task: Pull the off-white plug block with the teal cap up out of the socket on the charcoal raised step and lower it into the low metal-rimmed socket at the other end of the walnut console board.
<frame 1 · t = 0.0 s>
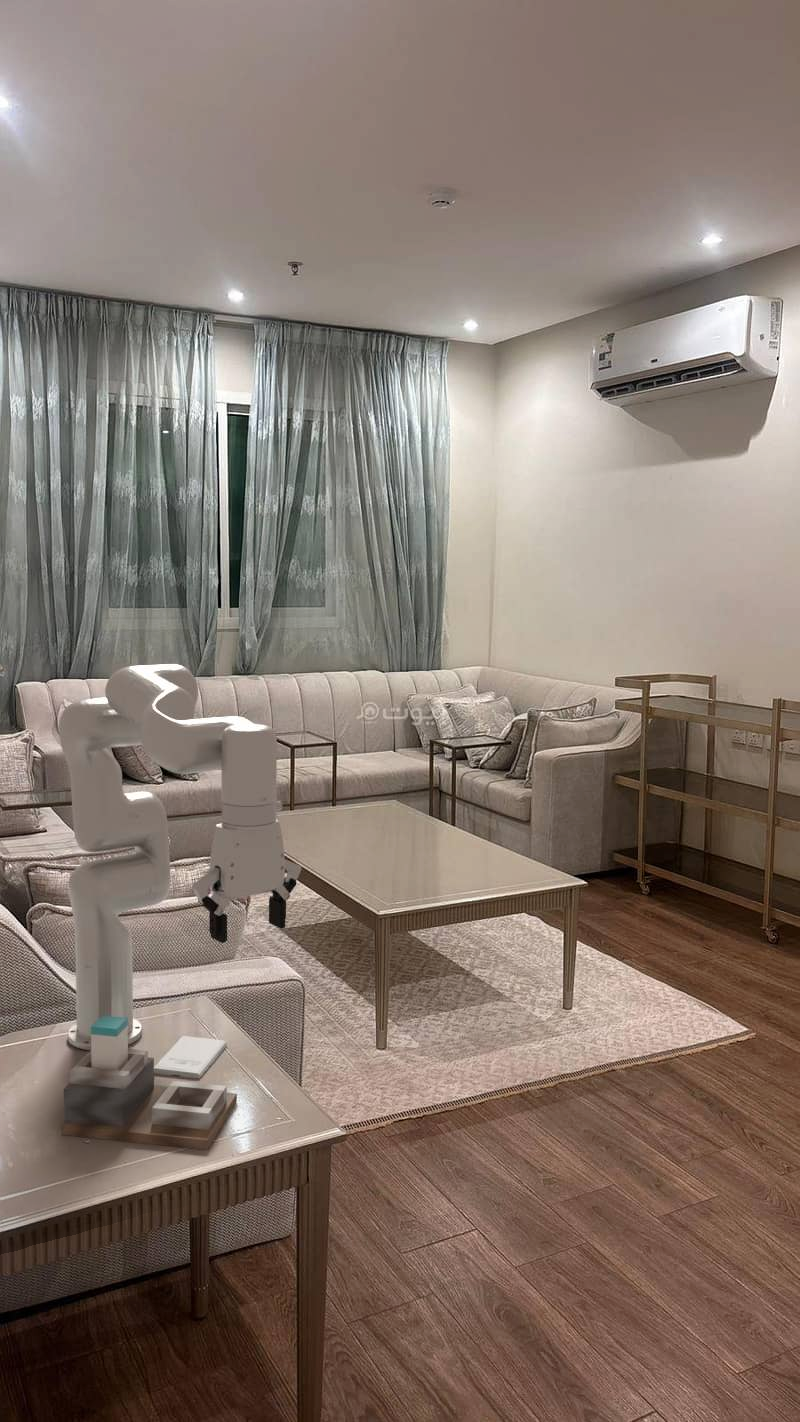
hand: (248, 932, 152), 31 cm above the table, tool pointing down, fingers open, 9 cm apart
plug block: (110, 1073, 162), point 6 cm above the table, touching socket console
socket console: (151, 1118, 162), on the table
external hard drive: (190, 1063, 182), on the table
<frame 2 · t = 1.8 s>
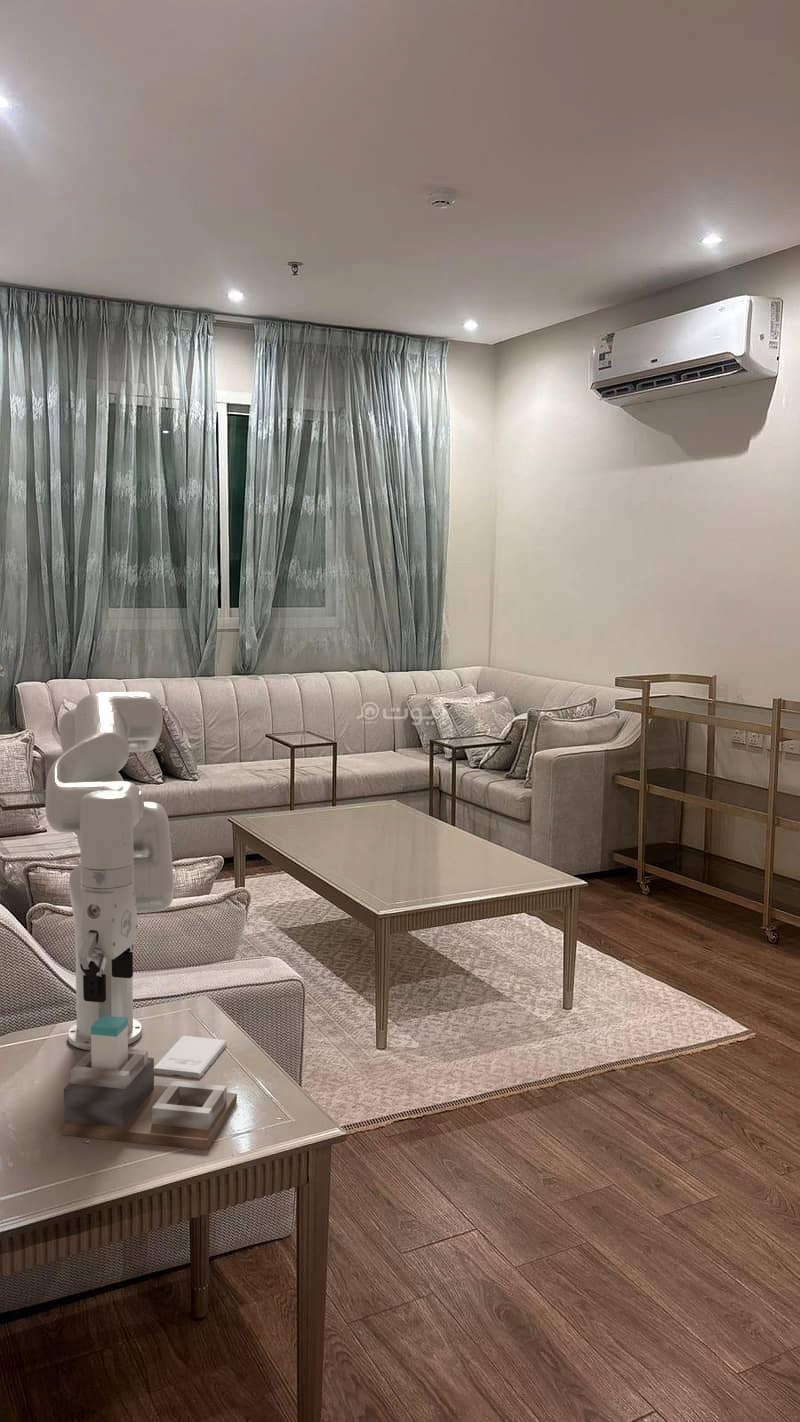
hand: (109, 988, 160), 20 cm above the table, tool pointing down, fingers open, 9 cm apart
nothing on the table moved.
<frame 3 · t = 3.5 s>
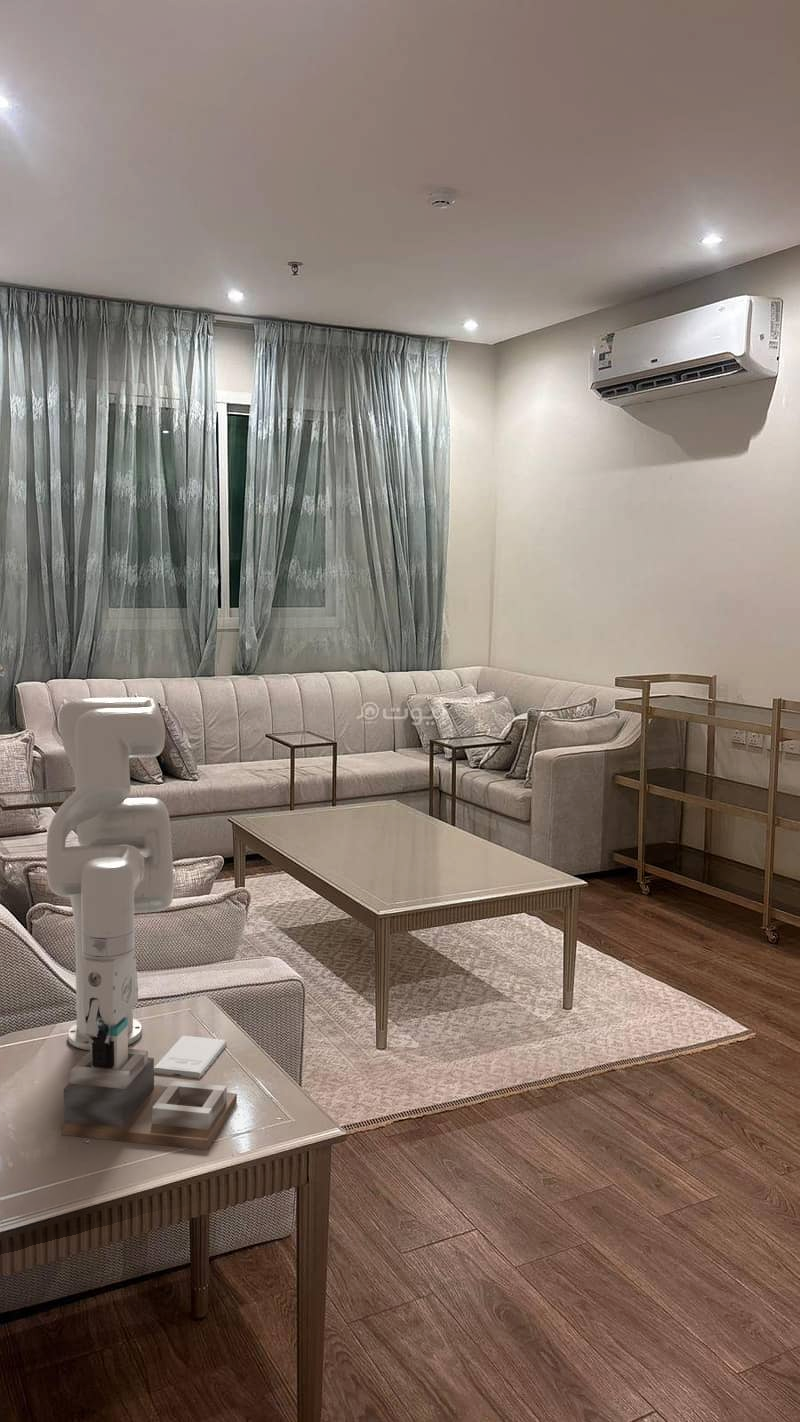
hand: (109, 1058, 162), 9 cm above the table, tool pointing down, fingers closed on plug block, 4 cm apart
plug block: (110, 1073, 162), point 7 cm above the table, touching gripper, socket console
everything else where it was.
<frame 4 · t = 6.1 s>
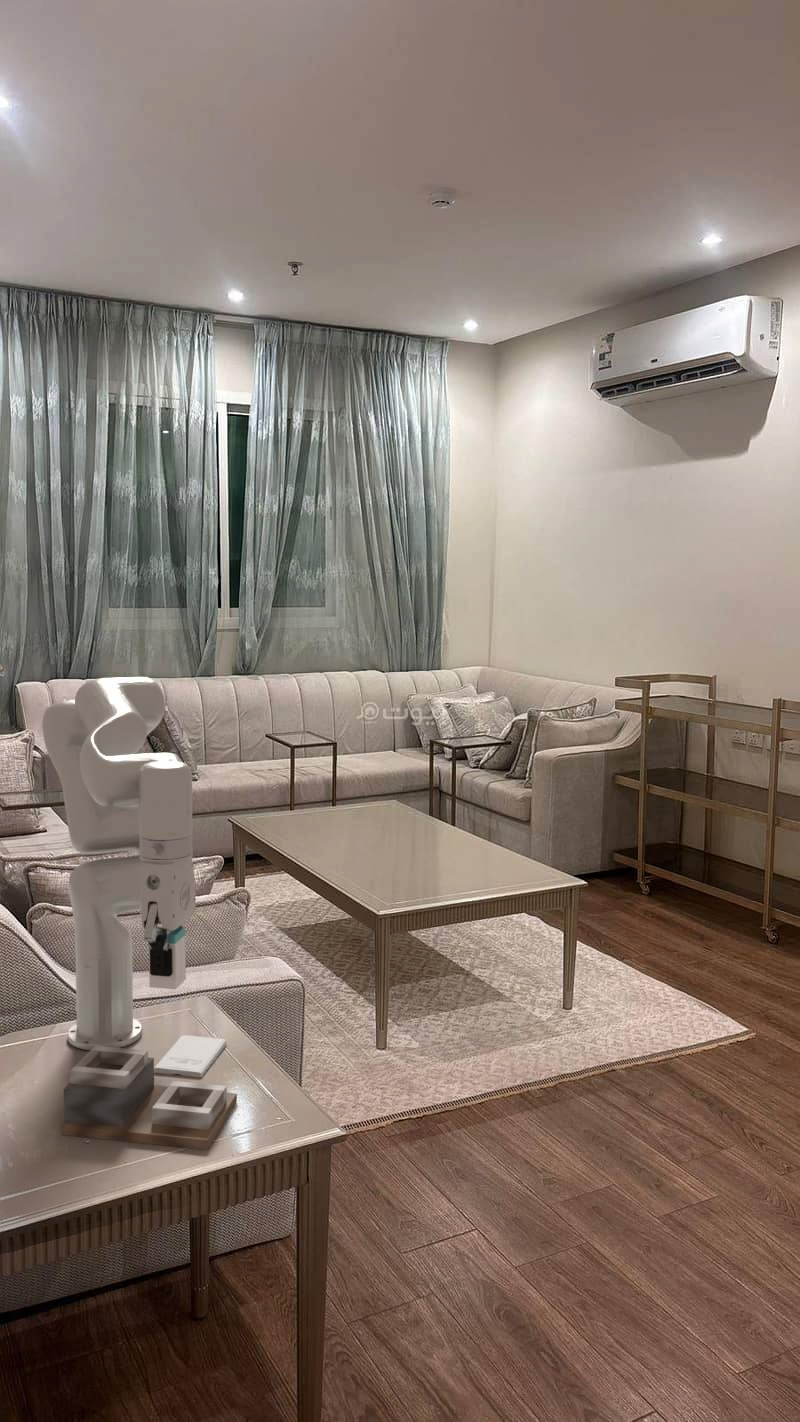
hand: (167, 968, 158), 24 cm above the table, tool pointing down, fingers closed on plug block, 4 cm apart
plug block: (167, 983, 159), point 21 cm above the table, touching gripper
everything else where it was.
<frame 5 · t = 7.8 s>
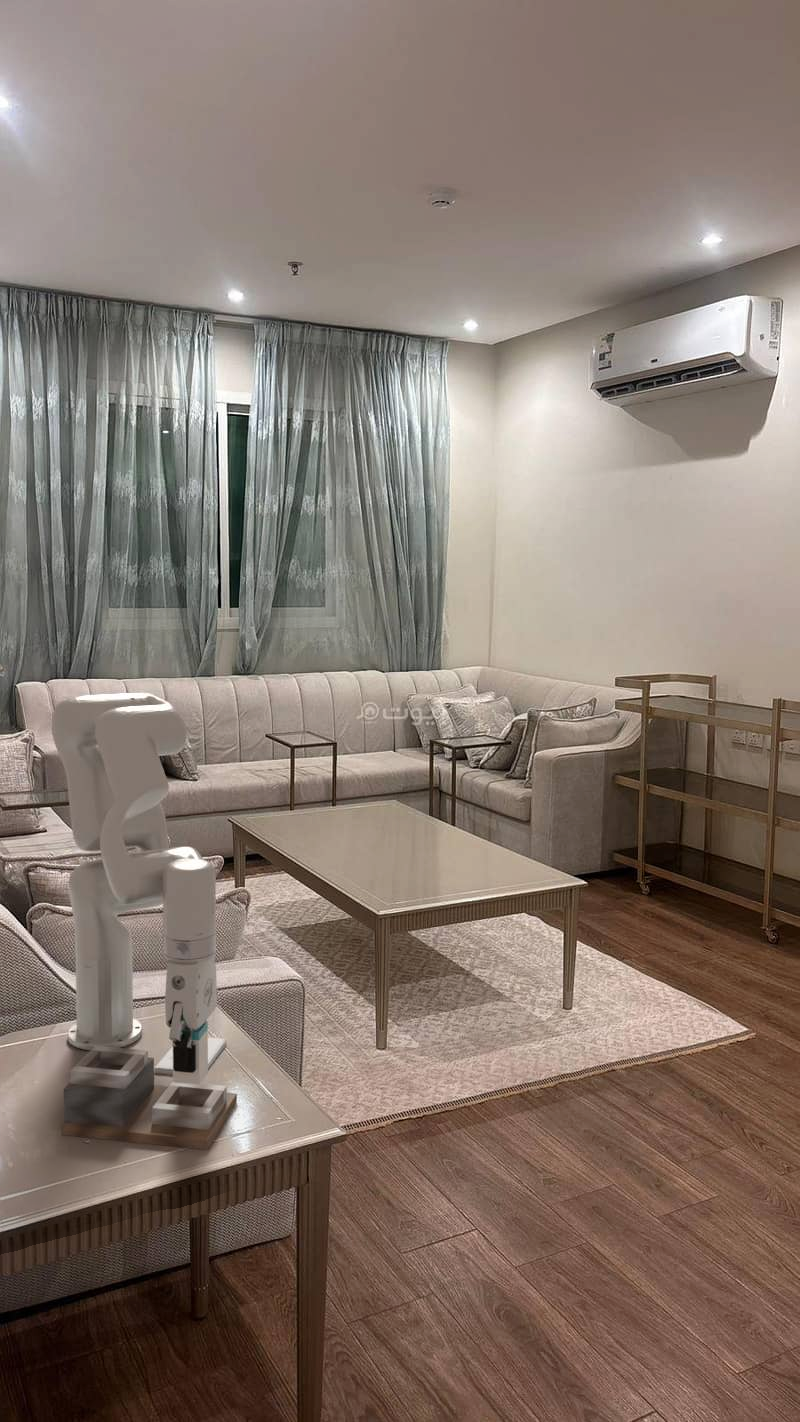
hand: (190, 1062, 160), 9 cm above the table, tool pointing down, fingers closed on plug block, 4 cm apart
plug block: (190, 1077, 160), point 7 cm above the table, touching gripper
everything else where it was.
when the fingers open (5 cm above the table, at t = 9.0 s): plug block drops 1 cm, resting on socket console.
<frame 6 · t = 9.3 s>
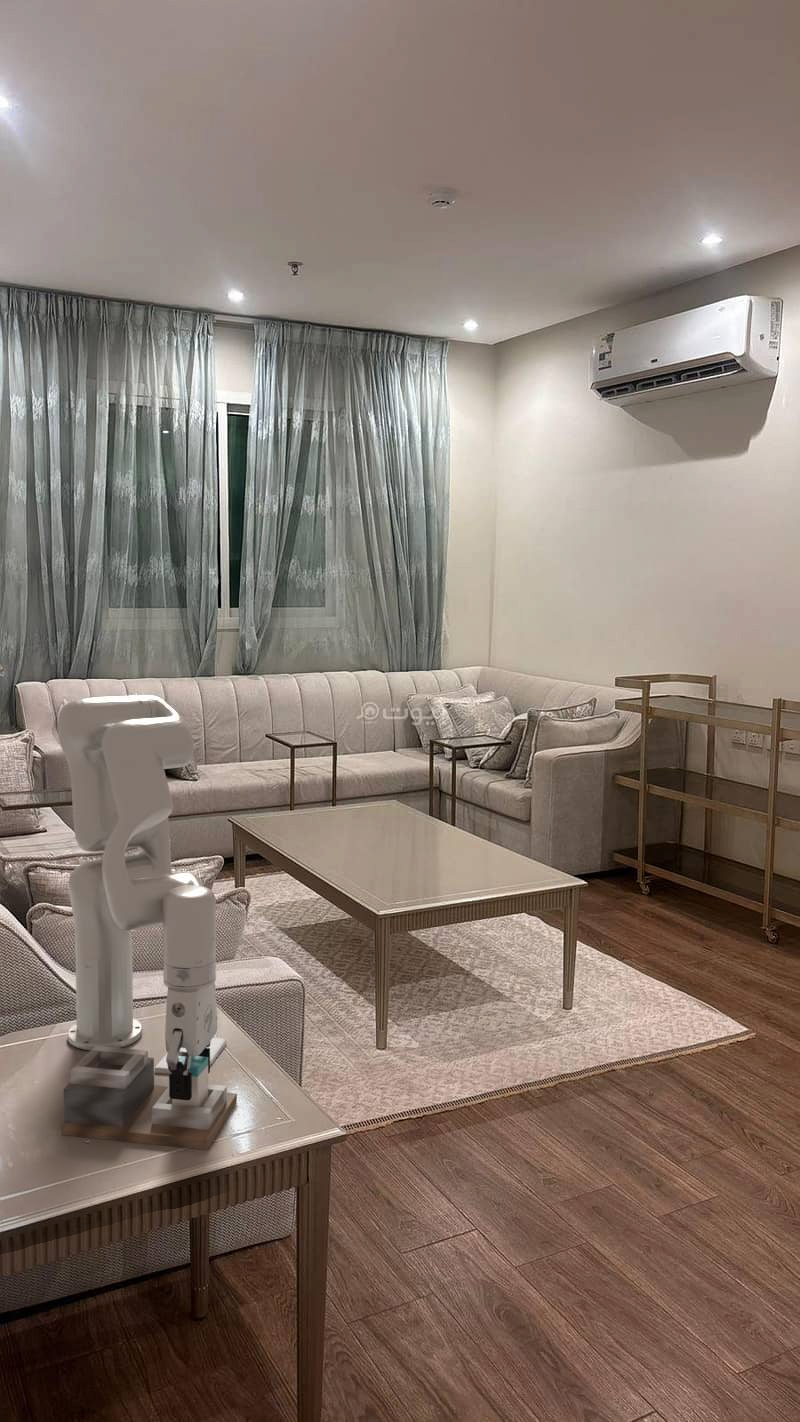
hand: (190, 1084, 161), 6 cm above the table, tool pointing down, fingers open, 7 cm apart
plug block: (190, 1112, 161), point 1 cm above the table, touching socket console
everything else where it was.
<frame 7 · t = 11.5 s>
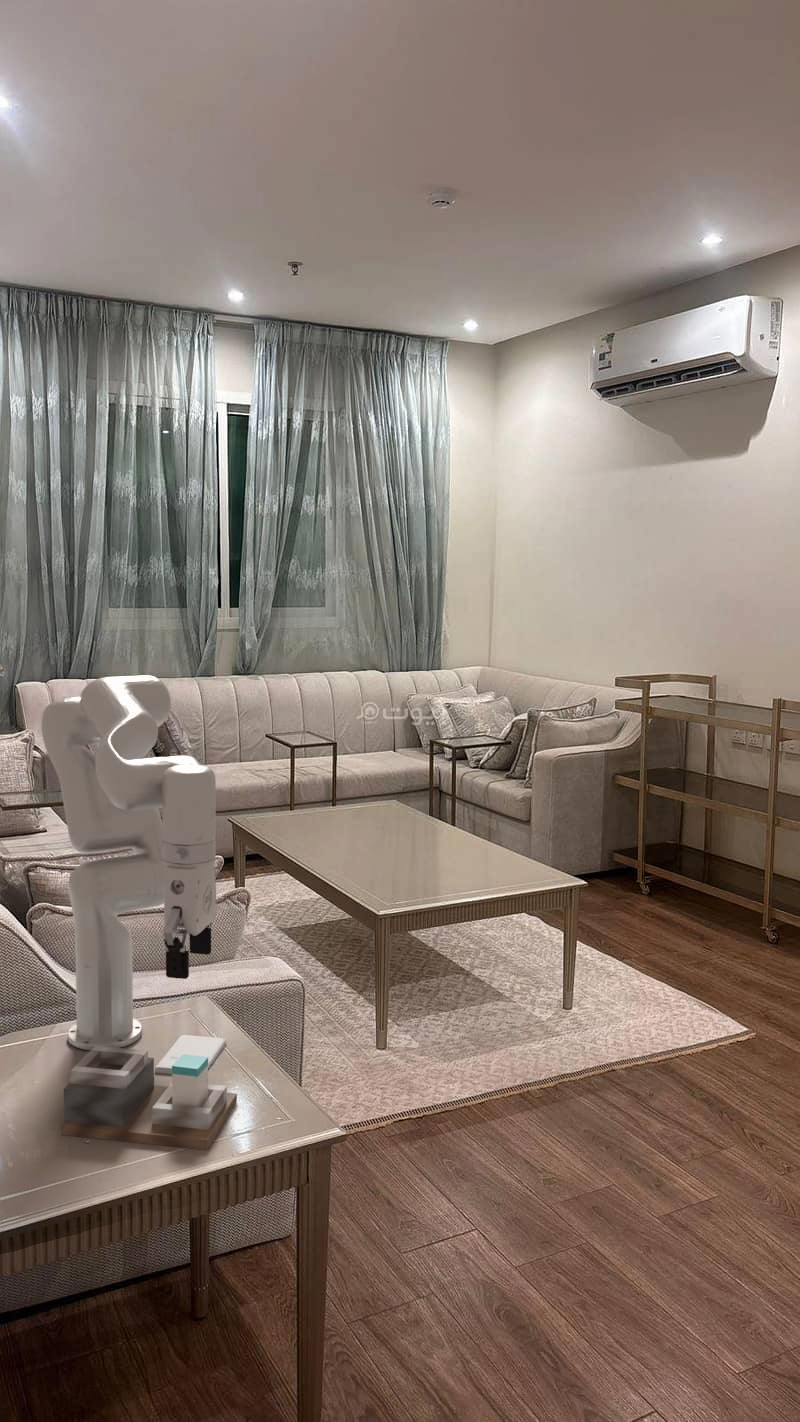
hand: (189, 965, 158), 24 cm above the table, tool pointing down, fingers open, 9 cm apart
nothing on the table moved.
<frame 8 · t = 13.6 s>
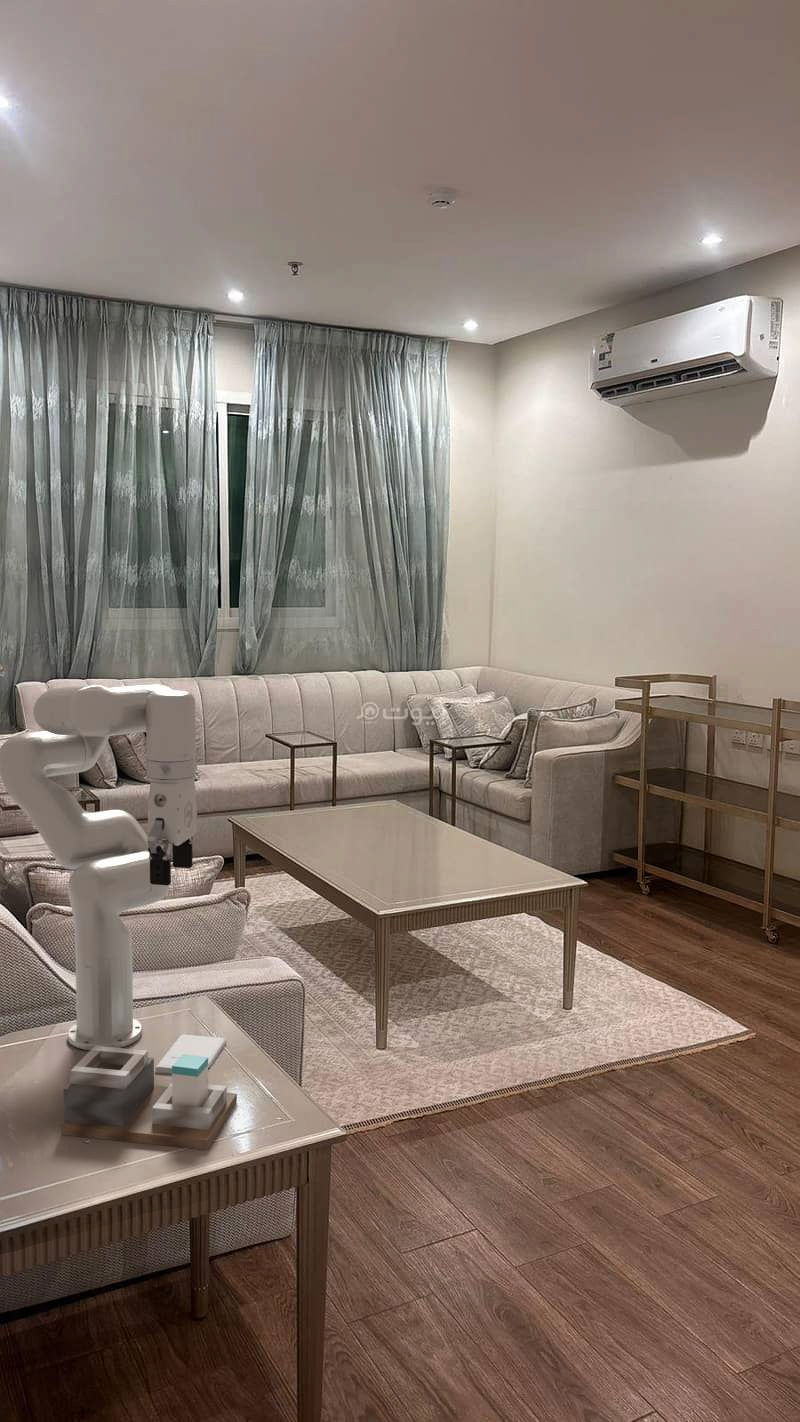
hand: (171, 875, 172), 33 cm above the table, tool pointing down, fingers open, 9 cm apart
nothing on the table moved.
at the end: plug block 0.0 cm from the target spot, point 1.5 cm above the table; plug block tilted 0°; the gripper is holding nothing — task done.
